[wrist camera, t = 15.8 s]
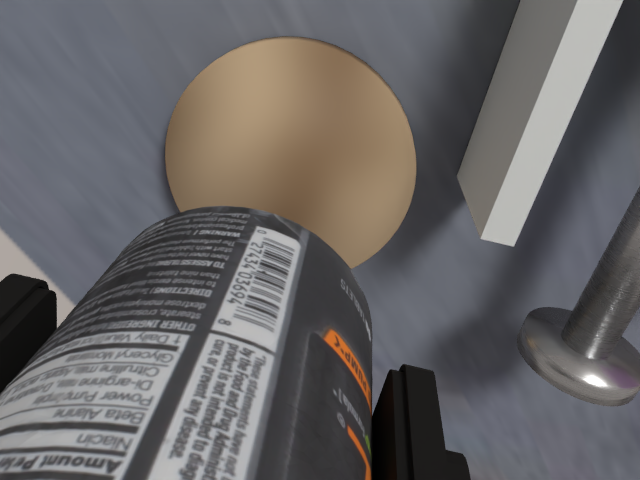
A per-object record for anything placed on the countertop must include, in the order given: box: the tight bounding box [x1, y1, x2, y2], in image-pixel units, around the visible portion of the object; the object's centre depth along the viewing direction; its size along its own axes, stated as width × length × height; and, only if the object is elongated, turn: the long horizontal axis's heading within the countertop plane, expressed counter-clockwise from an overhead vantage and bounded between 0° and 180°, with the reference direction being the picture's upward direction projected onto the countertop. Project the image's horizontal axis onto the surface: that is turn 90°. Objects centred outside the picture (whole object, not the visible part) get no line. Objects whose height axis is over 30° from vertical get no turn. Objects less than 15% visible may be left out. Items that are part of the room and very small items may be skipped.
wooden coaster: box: [165, 36, 416, 269], centre depth 20 cm, size 9×9×1 cm
